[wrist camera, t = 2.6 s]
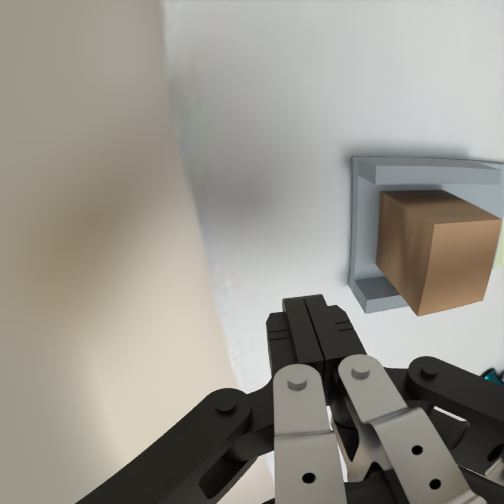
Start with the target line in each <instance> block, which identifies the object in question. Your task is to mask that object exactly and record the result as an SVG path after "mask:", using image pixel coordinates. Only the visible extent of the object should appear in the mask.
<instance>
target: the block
mask: <svg viewBox="0 0 504 504" xmlns="http://www.w3.org/2000/svg"><path fill="white" fill-rule="evenodd" d="M501 222H502V219H500V218H499V217H497V216H495V215H493V214H491V213H489V212H487V211H485V210H484V209H482V208H480V207H478V206H476V205H474V204H472V203H470V202H468V201H466V200H464V199H462V198H459V197H457V196H455V195H453V194H451V193H449V192H447V191H444V190H408V191H381V195H380V217H379V233H378V246H377V258H376V266H377V267H378V268H379V269H380V271H381V272H382V273H383V274H384V275H385V277H386V278H387V279H388V280H389V281H390V283H391V284H392V285H393V286H394V287H395V289H396V290H397V291H398V292H399V294H400V295H401V296H402V297H403V299H404V300H405V301H406V302H407V304H408V305H409V306H410V308H411V309H412V310H413V311H414V313H415V314H416V315H417V317H418V316H422V315H427V314H431V313H436V312H440V311H444V310H448V309H452V308H456V307H460V306H464V305H468V304H472V303H476V302H479V301H483V298H484V295H485V292H486V288H487V285H488V281H489V277H490V274H491V270H492V266H493V262H494V257H495V253H496V248H497V244H498V239H499V234H500V228H501Z"/></svg>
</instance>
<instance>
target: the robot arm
mask: <svg viewBox="0 0 504 504" xmlns="http://www.w3.org/2000/svg"><path fill="white" fill-rule="evenodd" d="M282 308H283V312H277V313H270V315H269V317H268V319H267V321H266V328H267V341H268V353H269V360H270V368H271V375H272V378H271V380H270V381H269V383H268V384H267V385H266V386H264V387H263V388H261V389H259V390H257V391H255V392H252V393H249V394H245V393H244V392H242V391H240V390H238V389H233V388H224V389H219V390H216V391H214V392H212V393H210V394H209V395H208V396H206V397H205V398H204V399H203V400H202V401H201V402H200V403H199V404H198V405H197V406H196V407H194V408H193V409H192V410H191V411H190V412H189V413H188V414H187V415H186V416H184V417H183V418H182V419H181V420H180V421H179V422H177V423H176V424H175V425H174V426H173V427H172V428H171V429H169V430H168V431H167V432H166V433H165V434H164V435H163V436H161V437H160V438H159V439H158V440H157V441H155V442H154V443H153V444H152V445H151V446H149V447H148V448H147V449H146V450H145V451H144V452H142V453H141V454H140V455H138V456H137V457H136V458H135V459H134V460H132V461H131V462H130V463H129V464H127V465H126V466H125V467H124V468H122V469H121V470H120V471H119V472H117V473H116V474H115V475H113V476H112V477H111V478H110V479H108V480H107V481H105V482H104V483H103V484H101V485H100V486H99V487H97V488H96V489H95V490H93V491H92V492H91V493H89V494H88V495H86V496H85V497H84V498H82V499H81V500H80V501H78V502H77V503H75V504H216V503H217V502H218V501H219V500H220V499H221V498H222V497H223V496H224V495H225V494H226V493H227V492H228V491H229V490H230V489H231V488H232V487H233V486H234V485H235V483H236V482H237V481H238V480H239V479H240V477H242V476H243V475H244V473H245V472H246V471H247V470H248V469H249V468H250V467H251V465H252V464H253V463H254V462H255V461H256V459H257V457H258V456H261V455H263V454H266V453H268V452H271V451H273V450H274V461H275V498H273V499H271V500H269V501H266V502H264V503H262V504H504V386H502V385H500V384H497V383H495V382H492V381H490V380H487V379H485V378H483V377H480V376H478V375H475V374H473V373H470V372H468V371H466V370H463V369H461V368H458V367H456V366H454V365H451V364H449V363H447V362H444V361H442V360H439V359H437V358H434V357H430V356H423V357H419V358H416V359H415V360H413V361H412V362H411V363H410V365H409V368H408V369H398V368H386V367H383V366H382V365H381V363H380V362H379V361H378V360H377V359H375V358H373V357H371V356H368V355H367V353H366V351H365V349H364V347H363V345H362V343H361V341H360V339H359V337H358V335H357V333H356V331H355V330H354V327H353V325H352V324H351V322H350V320H349V318H348V316H347V314H346V312H345V311H344V310H342V309H341V308H340V307H338V306H337V305H333V306H327V304H326V302H325V300H324V297H323V295H322V294H318V295H310V296H303V297H294V298H285V299H282ZM326 406H330V409H331V412H332V414H331V420H330V422H331V426H332V429H333V431H331V429H330V425H329V419H328V413H327V408H326ZM435 406H437V407H439V408H441V409H443V410H445V411H447V412H450V413H452V414H454V415H456V416H459V417H461V418H463V419H465V420H467V421H460V420H457V419H455V418H453V417H451V416H448V415H446V414H444V413H442V412H440V411H437V410H435V409H434V407H435ZM337 442H338V444H337ZM338 445H339V448H340V450H341V453H342V456H343V458H344V461H345V464H346V467H347V479H348V482H344V480H343V474H342V468H341V462H340V456H339V450H338ZM457 464H458V465H457ZM459 465H460V466H459ZM461 466H462V467H461ZM463 467H464V468H463ZM465 468H467V469H469V470H471V471H469V470H467V469H465ZM472 471H474V472H476V473H479V474H481V475H483V476H485V477H486V478H484V477H482V476H480V475H478V474H476V473H474V472H472Z"/></svg>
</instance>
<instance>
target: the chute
mask: <svg viewBox="0 0 504 504" xmlns="http://www.w3.org/2000/svg"><path fill="white" fill-rule="evenodd" d="M352 181H353V188H352V236H351V257H350V273H349V287H350V289H351V290H352V292H353V294H354V295H355V297H356V299H357V300H358V302H359V304H360V306H361V307H362V309H363V311H364V312H365V314H366V313H372V312H378V311H384V310H390V309H395V308H401V307H406V306H409V305H408V304H407V302H406V301H405V300H404V299H403V297H402V296H401V295H400V294H399V292H398V291H397V290H396V289H395V287H394V286H393V285H392V284H391V283H390V281H389V280H388V279H387V278H386V277H385V275H384V274H383V273H382V272H381V271H380V269H379V268H378V267H377V266H376V258H377V246H378V233H379V217H380V195H381V191H408V190H444V191H447V192H449V193H451V194H453V195H455V196H457V197H459V198H462V199H464V200H466V201H468V202H470V203H472V204H474V205H476V206H478V207H480V208H482V209H484V210H485V211H487V212H489V213H491V214H493V215H495V216H497V217H499V218H500V219H502V222H501V228H500V234H499V239H498V244H497V248H496V253H495V257H494V262H493V266H492V269H494V268H499V267H504V164H503V163H494V162H484V161H472V160H459V159H442V158H420V157H352Z"/></svg>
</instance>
